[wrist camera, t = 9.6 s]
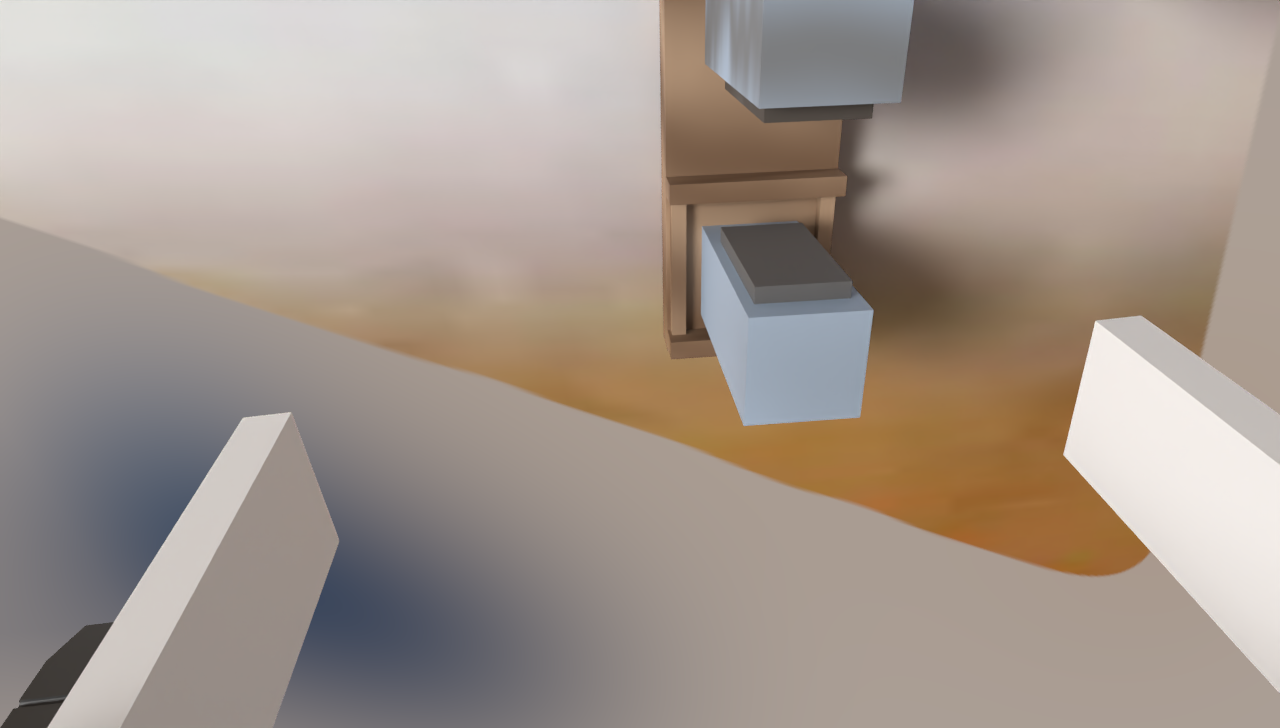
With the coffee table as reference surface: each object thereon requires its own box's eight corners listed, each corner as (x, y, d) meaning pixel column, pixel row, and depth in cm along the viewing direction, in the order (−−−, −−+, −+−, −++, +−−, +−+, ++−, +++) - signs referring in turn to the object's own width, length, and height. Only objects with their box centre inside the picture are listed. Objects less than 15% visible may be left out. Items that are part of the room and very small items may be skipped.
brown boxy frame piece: (658, -121, 28) (708, -151, 19) (851, -126, 28) (994, -158, 19) (663, 335, 36) (699, 469, 27) (812, 326, 37) (897, 455, 28)
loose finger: (790, 308, 35) (859, 417, 27) (700, 314, 34) (743, 425, 26) (798, 206, 32) (875, 292, 24) (702, 211, 32) (749, 300, 24)
